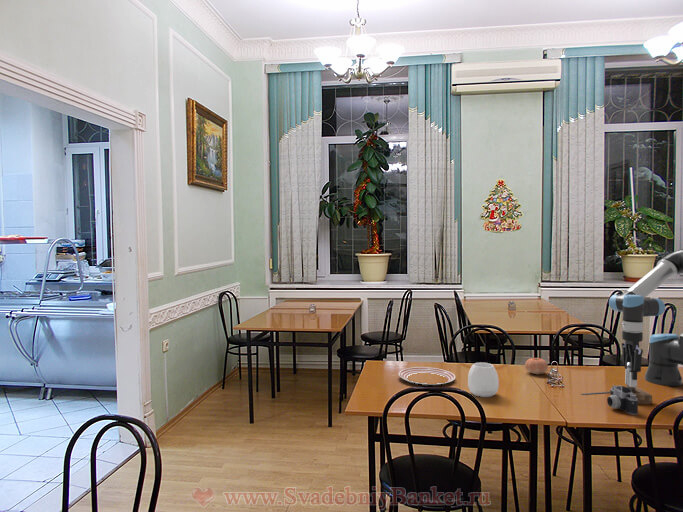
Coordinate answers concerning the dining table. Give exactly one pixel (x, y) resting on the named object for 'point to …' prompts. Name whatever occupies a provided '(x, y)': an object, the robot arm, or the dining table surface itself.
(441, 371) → the dinner plate
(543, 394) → the dining table surface
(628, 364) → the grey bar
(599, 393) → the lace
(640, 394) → the brown square tray
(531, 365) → the tomato
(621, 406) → the camera
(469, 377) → the cup
